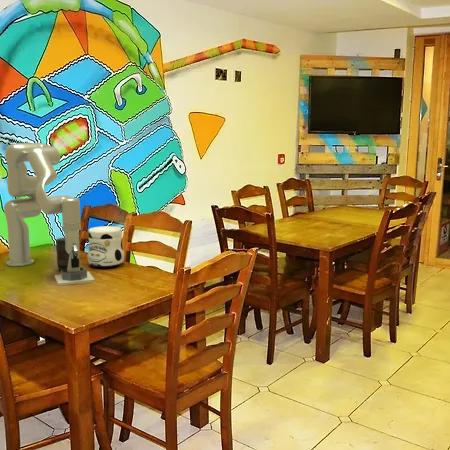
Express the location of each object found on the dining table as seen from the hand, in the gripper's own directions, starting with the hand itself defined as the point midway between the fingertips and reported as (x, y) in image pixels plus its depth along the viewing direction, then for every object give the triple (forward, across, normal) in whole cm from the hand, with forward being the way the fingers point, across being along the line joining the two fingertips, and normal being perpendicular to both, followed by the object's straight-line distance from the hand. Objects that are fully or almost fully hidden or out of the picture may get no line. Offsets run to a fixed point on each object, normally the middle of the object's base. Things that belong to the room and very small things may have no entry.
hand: (73, 264), depth 240 cm
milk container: (+7, -20, +18) cm, 28 cm away
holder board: (+7, 0, 0) cm, 7 cm away
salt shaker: (+6, 0, 0) cm, 6 cm away
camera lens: (+7, -18, -1) cm, 19 cm away
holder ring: (+7, 0, 0) cm, 7 cm away
